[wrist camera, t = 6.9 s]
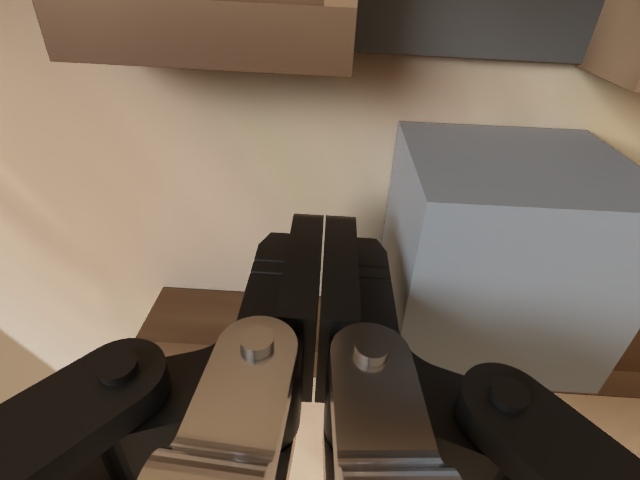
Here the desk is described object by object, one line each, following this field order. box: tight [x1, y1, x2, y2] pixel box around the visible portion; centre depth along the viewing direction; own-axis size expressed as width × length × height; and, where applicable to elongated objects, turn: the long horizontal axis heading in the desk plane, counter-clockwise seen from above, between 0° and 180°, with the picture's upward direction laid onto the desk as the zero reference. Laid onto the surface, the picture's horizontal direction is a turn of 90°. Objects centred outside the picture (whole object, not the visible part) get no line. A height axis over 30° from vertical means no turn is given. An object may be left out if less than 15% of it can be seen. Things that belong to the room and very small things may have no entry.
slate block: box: [381, 121, 640, 394], centre depth 11 cm, size 5×5×4 cm
